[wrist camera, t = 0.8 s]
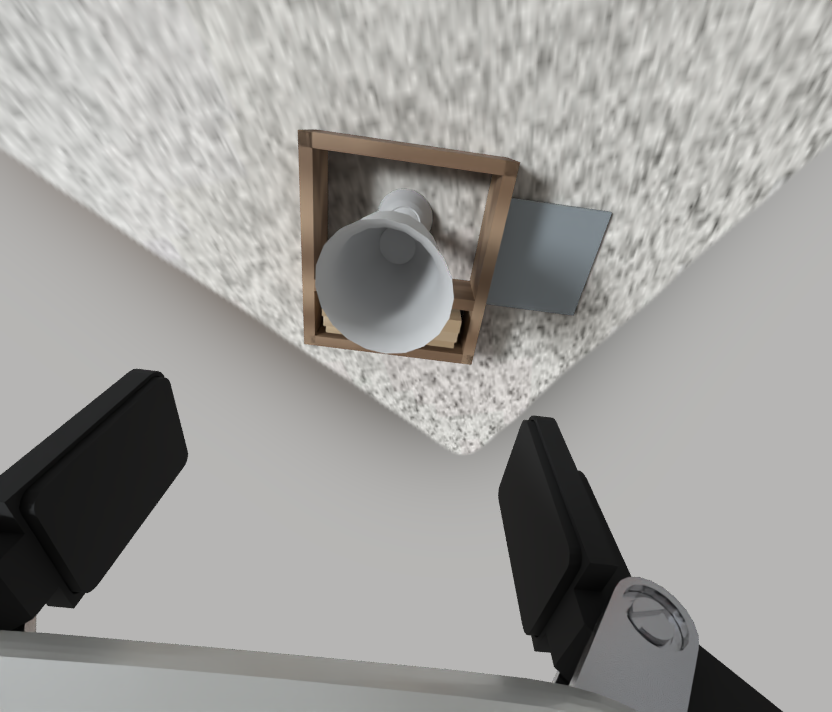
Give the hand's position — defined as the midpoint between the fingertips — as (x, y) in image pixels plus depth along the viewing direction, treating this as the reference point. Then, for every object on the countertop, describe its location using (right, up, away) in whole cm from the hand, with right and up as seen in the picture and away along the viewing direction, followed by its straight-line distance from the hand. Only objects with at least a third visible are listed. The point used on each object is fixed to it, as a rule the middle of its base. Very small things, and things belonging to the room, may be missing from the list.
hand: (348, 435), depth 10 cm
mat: (+14, +11, +26) cm, 31 cm away
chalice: (+1, +15, +24) cm, 28 cm away
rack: (0, +12, +26) cm, 28 cm away
